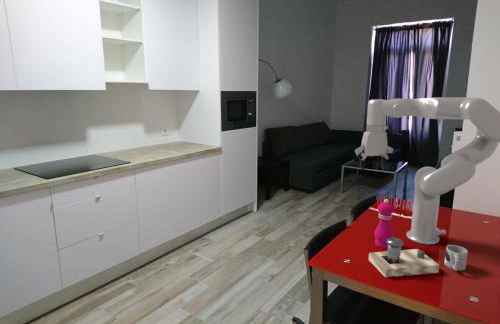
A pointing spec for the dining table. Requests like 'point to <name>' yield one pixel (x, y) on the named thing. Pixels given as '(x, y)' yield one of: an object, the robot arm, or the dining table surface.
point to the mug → (456, 257)
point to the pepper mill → (384, 224)
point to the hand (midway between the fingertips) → (372, 168)
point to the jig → (404, 263)
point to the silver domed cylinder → (394, 250)
